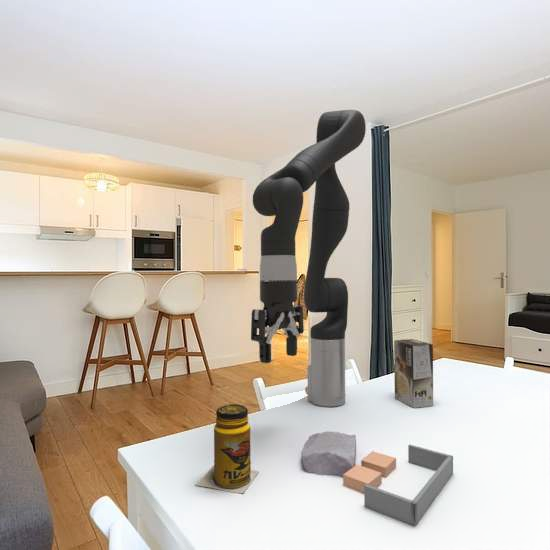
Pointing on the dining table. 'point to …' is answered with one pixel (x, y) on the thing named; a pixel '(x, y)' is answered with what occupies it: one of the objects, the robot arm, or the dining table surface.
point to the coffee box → (413, 372)
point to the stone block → (329, 453)
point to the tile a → (361, 478)
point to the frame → (418, 506)
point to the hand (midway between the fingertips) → (279, 358)
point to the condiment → (230, 451)
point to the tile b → (379, 463)
